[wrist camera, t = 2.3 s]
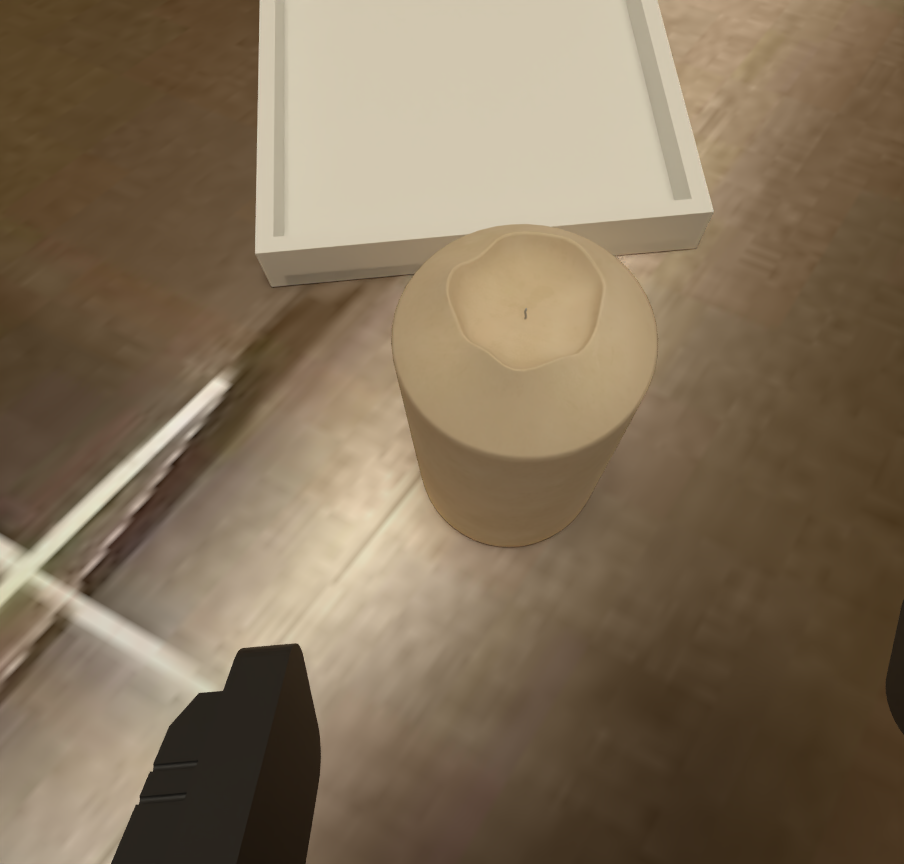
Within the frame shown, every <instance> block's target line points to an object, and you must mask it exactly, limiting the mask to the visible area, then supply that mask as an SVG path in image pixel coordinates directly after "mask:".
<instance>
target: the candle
mask: <svg viewBox="0 0 904 864" xmlns="http://www.w3.org/2000/svg"><path fill="white" fill-rule="evenodd" d="M391 345H392V354H393V361H394V366H395V370H396V374H397V378H398V382H399V386H400V390H401V394H402V399H403V403H404V407H405V411H406V415H407V419H408V423H409V427H410V431H411V436H412V440H413V444H414V448H415V452H416V456H417V460H418V464H419V468H420V472H421V476H422V480H423V483H424V486H425V489H426V491H427V494H428V496H429V498H430V500H431V502H432V504H433V505H434V507H435V508H436V510H437V511H438V512H439V514H440V515H441V516H442V517H443V518H444V519H445V520H446V521H447V522H448V523H449V524H450V525H451V526H452V527H454V528H455V529H456V530H458V531H459V532H460V533H462V534H464V535H466V536H467V537H469V538H471V539H474V540H476V541H479V542H481V543H485V544H489V545H493V546H501V547H518V546H526V545H530V544H534V543H537V542H540V541H542V540H545V539H547V538H549V537H551V536H553V535H555V534H556V533H558V532H560V531H561V530H563V529H564V528H565V527H566V526H568V525H569V524H570V523H571V522H572V521H573V520H574V519H575V518H576V517H577V516H578V514H579V513H580V511H581V510H582V509H583V507H584V506H585V504H586V503H587V501H588V499H589V498H590V496H591V494H592V492H593V490H594V488H595V486H596V485H597V483H598V481H599V479H600V477H601V475H602V474H603V472H604V470H605V468H606V466H607V464H608V462H609V461H610V459H611V457H612V455H613V453H614V451H615V450H616V448H617V446H618V444H619V442H620V440H621V438H622V437H623V435H624V433H625V431H626V429H627V427H628V425H629V424H630V422H631V420H632V418H633V416H634V414H635V413H636V411H637V409H638V407H639V405H640V403H641V401H642V399H643V397H644V396H645V394H646V392H647V390H648V388H649V386H650V383H651V380H652V377H653V375H654V372H655V367H656V362H657V356H658V333H657V325H656V321H655V317H654V313H653V310H652V307H651V305H650V302H649V300H648V298H647V296H646V294H645V292H644V290H643V289H642V287H641V285H640V284H639V282H638V281H637V279H636V278H635V277H634V276H633V274H632V273H631V272H630V271H629V269H628V268H627V267H626V266H625V265H624V264H623V263H621V262H620V261H619V260H618V259H617V258H616V257H615V256H614V255H612V254H611V253H610V252H608V251H607V250H606V249H604V248H603V247H601V246H599V245H598V244H596V243H594V242H592V241H591V240H589V239H586V238H584V237H582V236H580V235H577V234H575V233H572V232H569V231H565V230H562V229H559V228H554V227H549V226H544V225H532V224H510V225H503V226H495V227H491V228H487V229H483V230H479V231H476V232H473V233H471V234H468V235H465V236H463V237H461V238H459V239H457V240H455V241H453V242H451V243H449V244H448V245H446V246H445V247H443V248H442V249H440V250H439V251H437V252H436V253H435V254H434V255H432V256H431V257H430V258H429V259H428V260H427V261H425V262H424V264H423V265H422V266H421V267H420V268H419V269H418V270H417V271H416V272H415V274H414V275H413V277H412V278H411V279H410V281H409V282H408V284H407V285H406V287H405V289H404V291H403V293H402V295H401V297H400V299H399V302H398V305H397V308H396V311H395V314H394V319H393V325H392V338H391Z"/></svg>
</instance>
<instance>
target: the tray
mask: <svg viewBox="0 0 904 864" xmlns="http://www.w3.org/2000/svg"><path fill="white" fill-rule="evenodd" d="M713 212H714V211H713V207H712V203H711V200H710V196H709V192H708V188H707V185H706V181H705V177H704V173H703V170H702V166H701V162H700V158H699V155H698V151H697V147H696V143H695V140H694V136H693V132H692V128H691V125H690V121H689V117H688V113H687V110H686V106H685V102H684V98H683V95H682V91H681V87H680V84H679V80H678V76H677V72H676V69H675V65H674V61H673V57H672V54H671V50H670V46H669V42H668V39H667V35H666V31H665V27H664V24H663V20H662V16H661V12H660V9H659V5H658V1H657V0H260V20H259V74H258V128H257V182H256V236H255V254H256V256H257V258H258V260H259V262H260V264H261V267H262V269H263V271H264V273H265V275H266V277H267V279H268V281H269V283H270V285H271V287H277V286H288V285H299V284H310V283H321V282H332V281H343V280H354V279H365V278H376V277H387V276H398V275H409V274H415V272H416V271H417V270H418V269H419V268H420V267H421V266H422V265H423V264H424V262H425V261H427V260H428V259H429V258H430V257H431V256H432V255H434V254H435V253H436V252H437V251H439V250H440V249H442V248H443V247H445V246H446V245H448V244H449V243H451V242H453V241H455V240H457V239H459V238H461V237H463V236H465V235H468V234H471V233H473V232H476V231H479V230H483V229H487V228H491V227H495V226H503V225H510V224H532V225H544V226H549V227H554V228H559V229H562V230H565V231H569V232H572V233H575V234H577V235H580V236H582V237H584V238H586V239H589V240H591V241H592V242H594V243H596V244H598V245H599V246H601V247H603V248H604V249H606V250H607V251H608V252H610V253H611V254H612V255H614V256H617V255H628V254H639V253H650V252H661V251H672V250H683V249H694V248H697V246H698V244H699V242H700V239H701V237H702V235H703V233H704V231H705V229H706V227H707V225H708V223H709V221H710V219H711V217H712V214H713Z"/></svg>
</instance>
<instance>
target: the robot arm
mask: <svg viewBox="0 0 904 864" xmlns="http://www.w3.org/2000/svg"><path fill="white" fill-rule="evenodd" d="M886 695H887V701H888V704H889V708H890V711H891V713H892V716H893V718H894V720H895V722H896V724H897V725H898V727H899V729H900V730H901V731H902V733H903V734H904V600H903V603H902V606H901V611H900V616H899V620H898V625H897V630H896V635H895V639H894V644H893V649H892V653H891V658H890V663H889V667H888V672H887V677H886ZM320 763H321V748H320V735H319V728H318V723H317V718H316V714H315V709H314V704H313V699H312V695H311V690H310V685H309V681H308V676H307V671H306V667H305V662H304V657H303V653H302V650H301V648H300V646H299V645H298V644H296V643H295V644H284V645H273V646H262V647H250V648H242V649H240V650H239V651H238V653H237V654H236V657H235V659H234V662H233V665H232V667H231V670H230V673H229V676H228V679H227V681H226V684H225V687H224V690H223V691H218V692H207V693H199V694H198V695H197V696H196V697H195V698H194V699H193V700H192V702H191V703H190V704H189V705H188V706H187V707H186V708H185V709H184V710H183V712H182V713H181V714H180V715H179V716H178V717H177V718H176V719H175V721H174V722H173V723H172V724H171V725H170V726H169V728H168V731H167V733H166V735H165V738H164V740H163V742H162V745H161V747H160V749H159V752H158V754H157V757H156V759H155V761H154V764H153V765H154V768H153V772H150V773H149V775H148V778H147V780H146V782H145V785H144V787H143V790H142V792H141V794H140V803H139V805H136V806H135V808H134V811H133V813H132V815H131V818H130V820H129V822H128V825H127V827H126V830H125V832H124V834H123V837H122V839H121V841H120V844H119V846H118V848H117V851H116V853H115V855H114V858H113V860H112V862H111V864H305V863H306V857H307V851H308V845H309V839H310V832H311V826H312V820H313V814H314V808H315V802H316V796H317V790H318V783H319V776H320Z"/></svg>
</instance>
